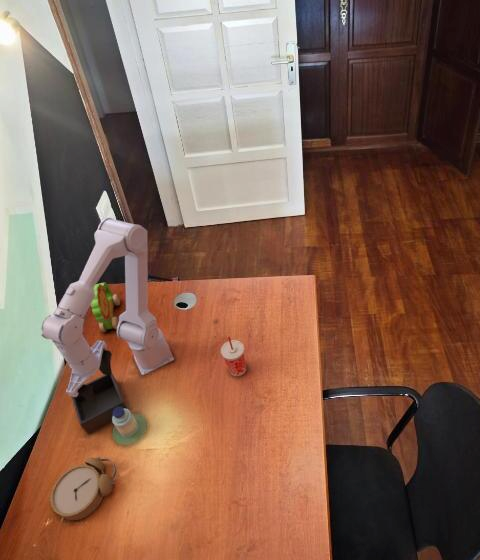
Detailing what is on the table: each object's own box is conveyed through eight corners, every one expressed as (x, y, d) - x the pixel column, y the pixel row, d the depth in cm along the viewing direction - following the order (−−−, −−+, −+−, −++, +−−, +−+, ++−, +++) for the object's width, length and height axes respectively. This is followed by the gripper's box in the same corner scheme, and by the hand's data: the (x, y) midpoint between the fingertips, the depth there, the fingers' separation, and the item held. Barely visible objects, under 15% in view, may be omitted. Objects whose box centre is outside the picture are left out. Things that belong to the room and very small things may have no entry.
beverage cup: (222, 375, 130) (212, 343, 120) (232, 357, 134) (223, 325, 124) (243, 381, 128) (234, 349, 118) (252, 363, 132) (245, 331, 122)
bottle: (135, 417, 123) (124, 399, 117) (141, 431, 120) (130, 413, 114) (117, 426, 121) (105, 409, 115) (123, 441, 118) (111, 423, 112)
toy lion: (104, 302, 154) (86, 268, 143) (121, 299, 154) (104, 264, 144) (101, 340, 143) (81, 306, 132) (120, 336, 143) (101, 302, 132)
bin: (117, 382, 131) (111, 371, 128) (130, 412, 124) (123, 401, 121) (78, 402, 128) (69, 391, 124) (88, 434, 121) (80, 424, 117)
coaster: (140, 408, 125) (140, 407, 125) (151, 433, 120) (151, 433, 119) (108, 425, 122) (108, 424, 122) (118, 452, 117) (118, 451, 117)
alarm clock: (41, 489, 109) (97, 442, 113) (54, 495, 113) (108, 449, 117) (59, 529, 102) (118, 477, 106) (72, 533, 106) (129, 483, 110)
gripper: (79, 327, 115) (100, 360, 124) (45, 378, 105) (70, 410, 114) (105, 330, 113) (124, 364, 123) (73, 383, 103) (96, 415, 113)
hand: (100, 386), depth 118 cm, fingers open, 7 cm apart
